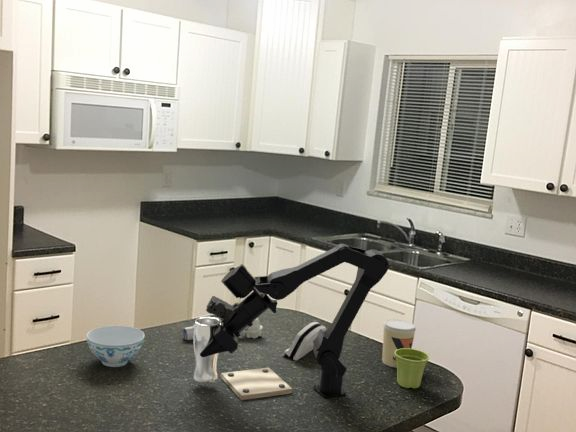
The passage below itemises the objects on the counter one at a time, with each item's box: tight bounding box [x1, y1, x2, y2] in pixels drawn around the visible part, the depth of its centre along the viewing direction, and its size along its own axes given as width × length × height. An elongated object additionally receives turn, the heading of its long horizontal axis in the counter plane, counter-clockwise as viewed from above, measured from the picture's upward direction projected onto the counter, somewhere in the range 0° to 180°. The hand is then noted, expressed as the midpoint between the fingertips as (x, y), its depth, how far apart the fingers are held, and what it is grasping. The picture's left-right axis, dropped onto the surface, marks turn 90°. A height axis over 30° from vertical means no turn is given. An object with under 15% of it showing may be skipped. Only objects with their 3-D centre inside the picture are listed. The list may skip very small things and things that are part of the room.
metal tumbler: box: [192, 316, 221, 384], centre depth 160 cm, size 7×7×15 cm
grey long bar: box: [182, 317, 264, 342], centre depth 198 cm, size 5×7×25 cm
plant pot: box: [395, 348, 430, 389], centre depth 174 cm, size 9×9×9 cm
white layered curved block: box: [281, 321, 327, 361], centre depth 192 cm, size 17×5×10 cm, turn 153°
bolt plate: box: [220, 367, 293, 401], centre depth 165 cm, size 14×14×2 cm
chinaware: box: [86, 325, 146, 368], centre depth 171 cm, size 15×15×8 cm
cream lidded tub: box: [381, 319, 416, 369], centre depth 189 cm, size 9×9×12 cm
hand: (201, 350), depth 160 cm, fingers closed on metal tumbler, 6 cm apart
